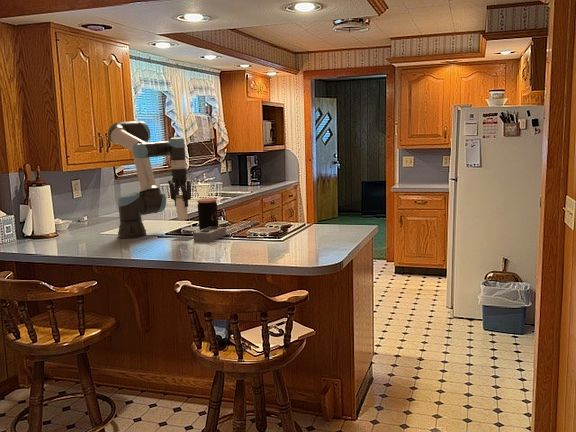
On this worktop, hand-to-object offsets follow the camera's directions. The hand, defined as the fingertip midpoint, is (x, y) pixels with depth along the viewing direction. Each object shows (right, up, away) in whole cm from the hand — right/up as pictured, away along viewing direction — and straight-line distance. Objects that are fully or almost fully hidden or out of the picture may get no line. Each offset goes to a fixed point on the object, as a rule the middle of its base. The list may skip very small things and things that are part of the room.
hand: (182, 212), depth 291 cm
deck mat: (+1, -14, +2) cm, 14 cm away
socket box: (+15, -14, +1) cm, 20 cm away
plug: (0, -3, +1) cm, 3 cm away
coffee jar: (+11, -11, +20) cm, 26 cm away
